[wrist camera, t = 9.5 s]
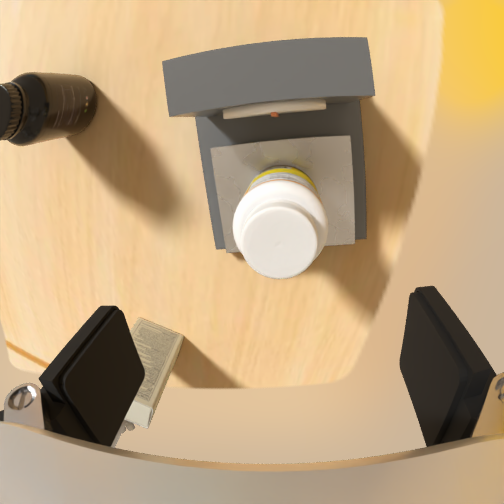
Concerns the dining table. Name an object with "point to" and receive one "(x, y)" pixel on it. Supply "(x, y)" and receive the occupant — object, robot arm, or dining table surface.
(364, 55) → the scale base
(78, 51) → the dining table surface
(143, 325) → the skincare box
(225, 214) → the scale pan
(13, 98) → the supplement bottle
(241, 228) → the supplement bottle
